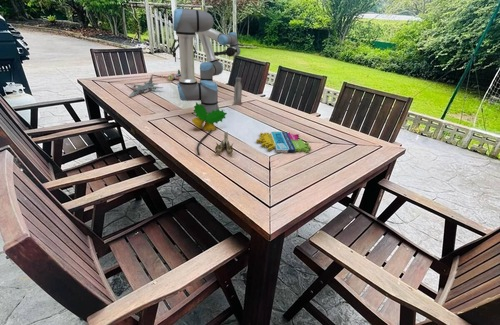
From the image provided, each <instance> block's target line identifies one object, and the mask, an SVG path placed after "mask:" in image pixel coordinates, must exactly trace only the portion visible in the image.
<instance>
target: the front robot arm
mask: <svg viewBox="0 0 500 325" xmlns="http://www.w3.org/2000/svg"><path fill="white" fill-rule="evenodd" d="M172 20H173V22H172V23H173V24H172V30H173V31H174V32H175V35H176V37H177V39H176V38H174V39H173V43H172V46H171V48H170V53H172V57H173V58H174V62H177V57H176V56H177V54H176V52H177V50H179V63H180V73H181V76H180V78H181V79H178V82H176V86H177V90H178V91H177V92H178V95H179V99H180V100H181V101H183V102H184V101H185V102H192V101H193V102H194V101H195V102H196V101H198V102H199V101H200V104H201V106H204V109H206V112H208V113H211V112H212V110H214V111H216V110H217V109H219V111H221V110H220V108H219V102H218V99H219V98H218V97H219V94H218V93H219V88H218V84H217V83H216V82H215V81H213V82H212V81H207V80H201V81H200V80H199V82H198V80H197V79H196V77H195V76H196V75H195V54H196V53H197V50H196V48H195V46H194V38H195V37H196V32H204V31H207V30H210V29H211V28H212V29H213V26H214V22H215V20H214V17H213V15H212V14H210V13H209V12H207V11H205V10H201V9H188V8H175V9H174V10H173V19H172ZM176 43H178V44H177V45H176ZM208 113H207V115H208ZM211 133H212V130H210V131H208V132H207V133H206V134H205V136H203V137H202V138H200V140H199V141H198V143H197V146H196V152H197V155H198V156H199V155H200V151H199V147H200V144H201V143H202V142H203V140H204V139H205V138H206V137H208V136H209V134H211Z"/></svg>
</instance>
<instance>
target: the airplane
mask: <svg viewBox="0 0 500 325" xmlns="http://www.w3.org/2000/svg"><path fill="white" fill-rule="evenodd" d="M153 75H154V74H151V76H150V78H149V80H148V81H147V82H146V81H144V82H143V85H142V84H134V83H129V84H128V85H130V86H132V87H131V89H133V91H132V92H131V93H130V94H129V95H128V96H127V98H129V97H130V98H131V97H135V96H137V95H139V94H141V93H148V92H150V91H151V90H152V92H154V91H156V90H157V89H163V88H164V87H162V86H157V85H158V83H154V82H153V78H154V76H153ZM155 85H156V86H155Z"/></svg>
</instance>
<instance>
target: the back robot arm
mask: <svg viewBox="0 0 500 325" xmlns="http://www.w3.org/2000/svg"><path fill="white" fill-rule="evenodd" d="M195 34H197V35H198V37H199V39H200V43H201V46H202V48H203V51H204V54H205V57H206V60H207V61H203V62H201V63H200V64H199V78H200V80H199V82H200V81H201V80H207V81H212V82H214V80H213V78H214V76H219V75H221V74H222V73H223V70H224V65H223V63H222V62H220V61H219V58H217V57H218V56H227V57H230V58H231V57H232V58H234V57H238V56H240V54H241V48H240V46H239V42H238V35H237V32H235V31H232V32H228V33H227V34H224V33H223V32H221V31H218V30H216V29H215V28H213V27H212V28H211V29H210V30H207V31H204V32H195ZM211 39H212V40H214V41H216V42H218V44H219V45H221V46H227V45H229V47H227V48H226V49H225V50H222V51H214V47H213V45H212V41H211ZM152 75H153V77H159V78H161V76H162V75H156V74H152ZM164 78H165V77H163V79H164ZM165 79H166V78H165ZM173 80H175V81H179V79H173Z"/></svg>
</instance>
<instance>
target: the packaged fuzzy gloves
mask: <svg viewBox="0 0 500 325" xmlns="http://www.w3.org/2000/svg"><path fill="white" fill-rule="evenodd" d="M299 136H300V135H299V134H298V133H296V134H294V133H291V132H287V131H270V132H264V133H263V132H260V133H259V139H258V138H257V139H256V143H257V144H261V148H263V147H264V148H265V149H267V151H268V152H271V151H272V150H273V149H275V152H276V153H283V154H285V153H287V154H288V153H290V154H293V153H296V152H298V153H301V152H305V153H310V151H311V150H312V149H311V148H312V146H309V142H304V141H303V139H302V138H299Z"/></svg>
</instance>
